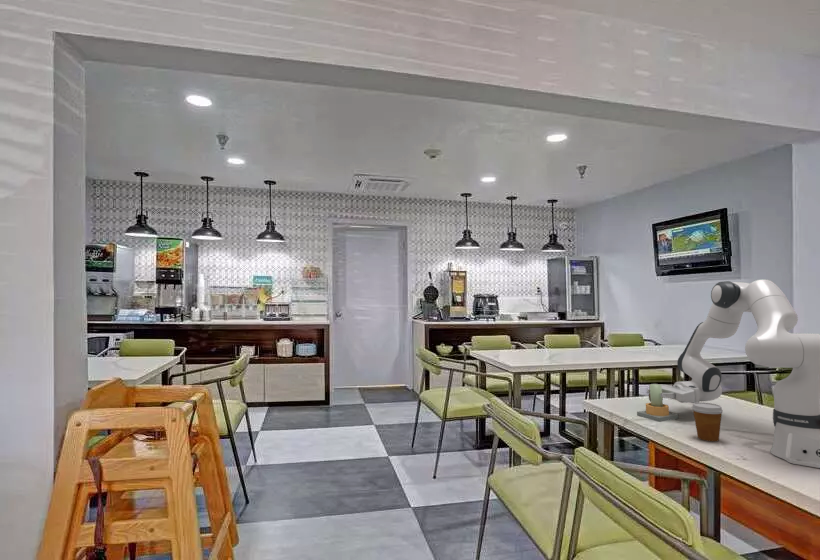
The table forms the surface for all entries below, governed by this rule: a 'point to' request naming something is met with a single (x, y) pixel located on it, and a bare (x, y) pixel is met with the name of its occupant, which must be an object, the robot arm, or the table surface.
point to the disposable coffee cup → (707, 420)
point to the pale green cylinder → (656, 395)
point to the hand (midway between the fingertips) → (654, 393)
